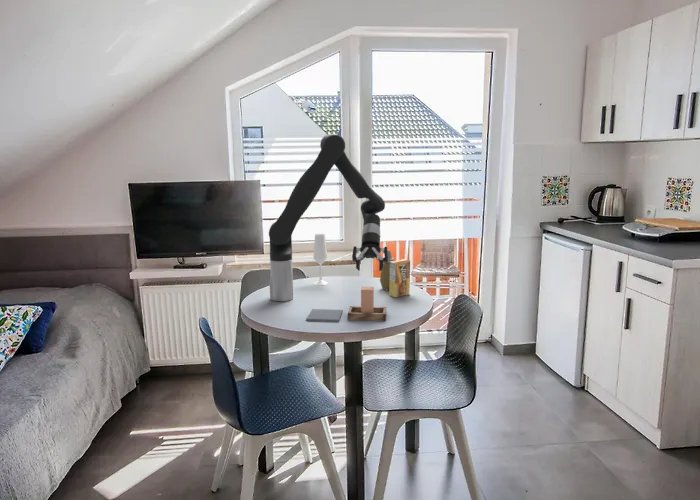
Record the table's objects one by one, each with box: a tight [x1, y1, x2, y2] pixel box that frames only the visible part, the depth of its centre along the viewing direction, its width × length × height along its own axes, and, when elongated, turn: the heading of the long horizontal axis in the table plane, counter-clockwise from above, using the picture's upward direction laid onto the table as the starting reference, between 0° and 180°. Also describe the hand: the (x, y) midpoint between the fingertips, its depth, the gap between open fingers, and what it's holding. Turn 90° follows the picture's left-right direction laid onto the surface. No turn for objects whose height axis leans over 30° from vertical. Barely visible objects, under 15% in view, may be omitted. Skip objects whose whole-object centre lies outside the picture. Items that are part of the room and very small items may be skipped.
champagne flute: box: [313, 233, 328, 286], centre depth 225 cm, size 7×7×24 cm
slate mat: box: [305, 308, 343, 323], centre depth 177 cm, size 12×12×1 cm
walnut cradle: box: [347, 305, 387, 322], centre depth 177 cm, size 14×9×2 cm, turn 84°
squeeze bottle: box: [379, 249, 395, 291], centre depth 215 cm, size 8×8×18 cm
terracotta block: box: [360, 286, 375, 313], centre depth 176 cm, size 4×4×11 cm
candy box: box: [388, 258, 411, 298], centre depth 205 cm, size 9×4×15 cm, turn 129°
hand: (369, 269), depth 185 cm, fingers open, 8 cm apart
